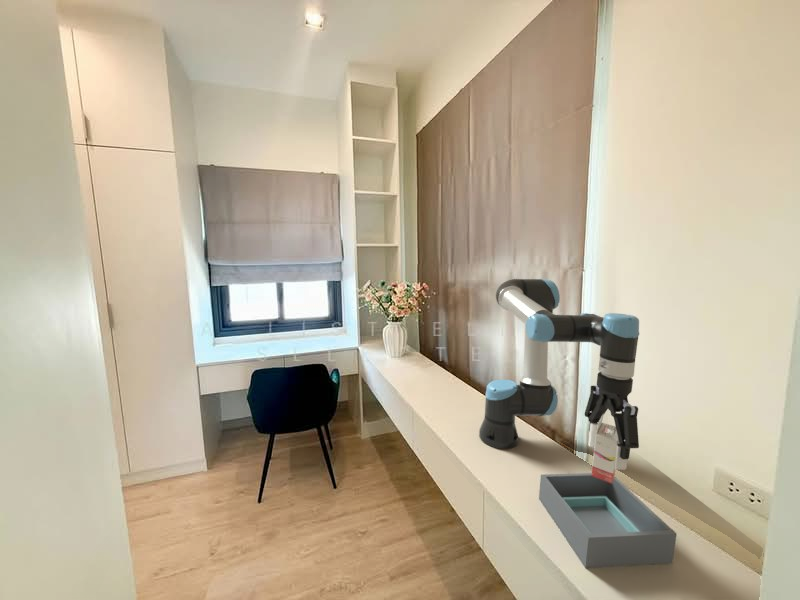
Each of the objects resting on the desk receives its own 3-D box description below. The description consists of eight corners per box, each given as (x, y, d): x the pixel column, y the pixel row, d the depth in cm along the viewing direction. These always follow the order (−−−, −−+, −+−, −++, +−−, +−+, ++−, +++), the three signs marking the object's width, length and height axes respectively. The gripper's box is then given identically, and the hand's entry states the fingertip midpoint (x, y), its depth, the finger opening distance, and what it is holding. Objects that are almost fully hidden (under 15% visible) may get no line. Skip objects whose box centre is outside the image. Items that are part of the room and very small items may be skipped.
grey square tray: (538, 498, 98) (540, 474, 97) (607, 496, 99) (610, 472, 98) (585, 567, 76) (588, 537, 75) (672, 563, 78) (676, 533, 77)
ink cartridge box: (613, 485, 81) (619, 429, 79) (590, 476, 84) (596, 423, 82) (617, 468, 87) (623, 417, 85) (596, 460, 90) (601, 411, 88)
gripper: (574, 361, 92) (568, 434, 95) (635, 392, 71) (623, 485, 74) (599, 361, 93) (592, 433, 96) (667, 392, 71) (654, 484, 74)
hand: (605, 456), depth 85 cm, fingers closed on ink cartridge box, 9 cm apart
